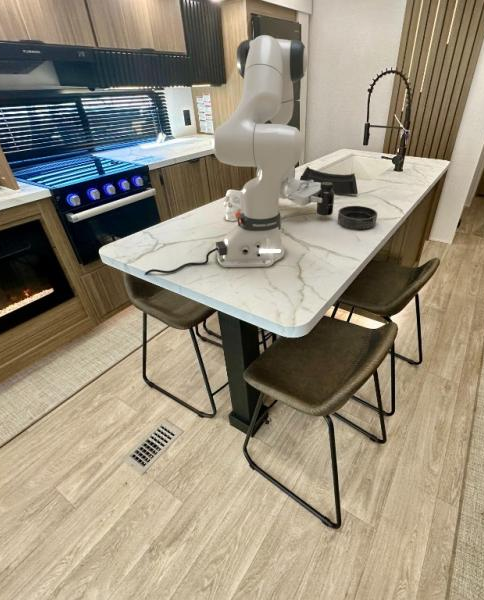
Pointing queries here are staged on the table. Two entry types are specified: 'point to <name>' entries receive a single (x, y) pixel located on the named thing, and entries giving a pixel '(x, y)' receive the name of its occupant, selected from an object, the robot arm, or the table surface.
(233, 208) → the skull bowl
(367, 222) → the bowl
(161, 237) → the table surface
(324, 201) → the supplement bottle
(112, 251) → the table surface
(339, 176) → the magazine
